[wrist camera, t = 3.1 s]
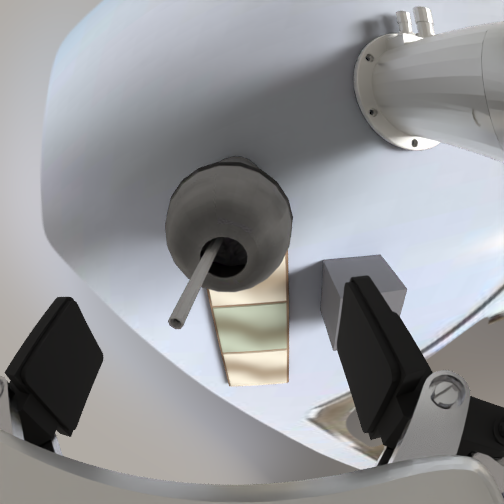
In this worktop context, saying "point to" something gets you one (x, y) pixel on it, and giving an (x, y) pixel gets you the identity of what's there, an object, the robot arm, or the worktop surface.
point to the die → (341, 272)
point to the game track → (254, 330)
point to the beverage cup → (226, 229)
